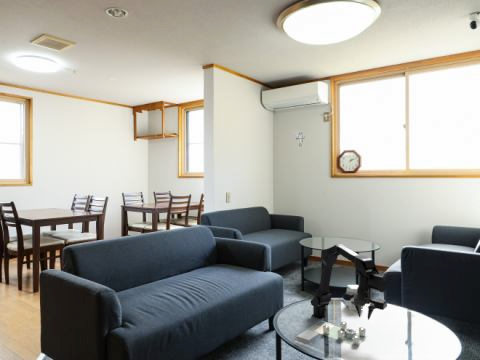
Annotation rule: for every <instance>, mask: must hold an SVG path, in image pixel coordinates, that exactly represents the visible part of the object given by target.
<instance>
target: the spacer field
mask: <svg viewBox="0 0 480 360" xmlns="http://www.w3.org/2000/svg"><path fill="white" fill-rule="evenodd" d="M347 325H348V324H347V322H346V321H340V323H339V327H340V330H338V340H337V341H339V342H342V341H343V340H344V331H345V329H348V328H347V327H348V326H347ZM329 329H330V327H329V326H326V325H325V326H323V334H324V335H323V336H325V335H326V337H328V335H329ZM358 333H359V336H357V335H353V345H352V346H354V347H359V346H360V344H359V341H360V337H362V338H365V336H366V328H365V327H363V326H362V327H358ZM365 339H366V338H365Z"/></svg>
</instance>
